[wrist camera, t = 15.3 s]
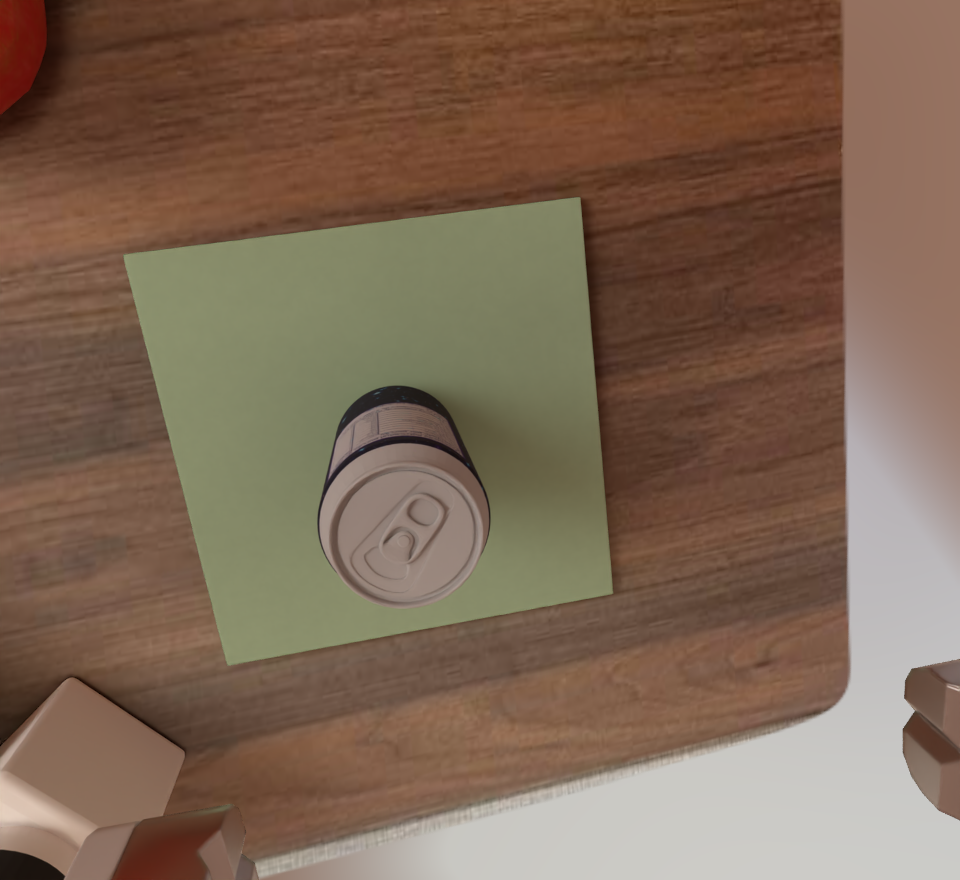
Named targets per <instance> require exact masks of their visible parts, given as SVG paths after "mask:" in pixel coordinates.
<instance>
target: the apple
mask: <svg viewBox="0 0 960 880" xmlns="http://www.w3.org/2000/svg"><path fill="white" fill-rule="evenodd" d="M46 40H47V24H46V14H45V3H44V0H0V115H1V114H2V113H3V112H4V111H6V110H7V109H8V108H9V107H10V106H11V105H13V104H14V103H15V102H16V101H17V100H18V99H20V98H21V97H22V96H23V95H24V94H25V93H27V92H28V91H29V90H30V88H31V86H32V84H33V81H34V79H35V77H36V75H37V72H38V70H39V68H40V66H41V62H42V59H43V56H44V53H45V49H46Z"/></svg>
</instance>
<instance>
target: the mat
mask: <svg viewBox="0 0 960 880" xmlns="http://www.w3.org/2000/svg"><path fill="white" fill-rule="evenodd" d="M123 257H124V261H125V265H126V269H127V273H128V277H129V281H130V285H131V289H132V293H133V297H134V301H135V305H136V309H137V313H138V316H139V320H140V324H141V328H142V332H143V336H144V340H145V344H146V348H147V352H148V356H149V360H150V364H151V368H152V372H153V375H154V379H155V383H156V387H157V391H158V395H159V399H160V403H161V407H162V411H163V415H164V419H165V423H166V427H167V431H168V434H169V438H170V442H171V446H172V450H173V454H174V458H175V462H176V466H177V470H178V474H179V478H180V482H181V486H182V490H183V493H184V497H185V501H186V505H187V509H188V513H189V517H190V521H191V525H192V529H193V533H194V537H195V541H196V545H197V549H198V552H199V556H200V560H201V564H202V568H203V572H204V576H205V580H206V584H207V588H208V592H209V596H210V600H211V604H212V608H213V611H214V615H215V619H216V623H217V627H218V631H219V635H220V639H221V643H222V647H223V651H224V655H225V659H226V663H227V665H228V666H229V665H235V664H240V663H245V662H251V661H256V660H261V659H267V658H272V657H277V656H283V655H288V654H293V653H299V652H304V651H310V650H315V649H320V648H326V647H331V646H336V645H342V644H347V643H352V642H358V641H363V640H369V639H374V638H379V637H385V636H390V635H395V634H401V633H406V632H411V631H417V630H422V629H427V628H433V627H438V626H444V625H449V624H454V623H460V622H465V621H470V620H476V619H481V618H486V617H492V616H497V615H502V614H508V613H513V612H519V611H524V610H529V609H535V608H540V607H545V606H551V605H556V604H561V603H567V602H572V601H578V600H583V599H588V598H594V597H599V596H604V595H610V594H613V584H612V572H611V560H610V548H609V536H608V524H607V512H606V500H605V488H604V476H603V463H602V451H601V439H600V427H599V415H598V403H597V391H596V379H595V367H594V355H593V343H592V331H591V319H590V307H589V295H588V283H587V271H586V259H585V247H584V235H583V223H582V210H581V198H580V197H575V198H567V199H559V200H551V201H543V202H535V203H527V204H519V205H511V206H503V207H495V208H487V209H479V210H471V211H464V212H456V213H448V214H440V215H432V216H424V217H416V218H408V219H400V220H392V221H384V222H376V223H368V224H360V225H352V226H345V227H337V228H329V229H321V230H313V231H305V232H297V233H289V234H281V235H273V236H265V237H257V238H249V239H241V240H233V241H226V242H218V243H210V244H202V245H194V246H186V247H178V248H170V249H162V250H154V251H146V252H138V253H130V254H124V255H123ZM386 386H409V387H413V388H417V389H420V390H422V391H424V392H426V393H428V394H430V395H432V396H433V397H434V398H436V399H437V400H438V401H439V402H440V403H441V404H442V405H443V406H444V407H445V408H446V409H447V411H448V412H449V413H450V415H451V417H452V419H453V421H454V423H455V425H456V427H457V429H458V432H459V434H460V436H461V438H462V440H463V442H464V445H465V447H466V449H467V451H468V453H469V456H470V458H471V460H472V462H473V464H474V466H475V469H476V471H477V473H478V475H479V477H480V479H481V482H482V484H483V486H484V488H485V491H486V493H487V497H488V500H489V505H490V514H491V523H490V531H489V536H488V540H487V543H486V546H485V548H484V551H483V553H482V555H481V556H480V559H479V561H478V563H477V565H476V567H475V569H474V570H473V572H472V573H471V575H470V576H469V578H468V579H467V580H466V581H465V582H464V583H463V584H462V586H460V587H459V588H458V589H457V590H456V591H454V592H453V593H452V594H450V595H449V596H447V597H445V598H444V599H442V600H440V601H437V602H435V603H433V604H430V605H426V606H422V607H418V608H409V609H398V608H390V607H384V606H381V605H378V604H375V603H372V602H370V601H368V600H366V599H364V598H362V597H360V596H359V595H358V594H356V593H355V592H353V591H352V590H351V589H350V588H349V587H348V586H347V585H346V584H345V583H344V582H343V581H342V579H341V578H340V577H339V575H338V574H337V573H336V572H335V571H334V569H333V568H332V567H331V565H330V564H329V562H328V560H327V559H326V557H325V555H324V553H323V550H322V547H321V544H320V541H319V536H318V528H317V517H318V509H319V504H320V500H321V496H322V492H323V487H324V483H325V479H326V475H327V470H328V466H329V462H330V458H331V453H332V449H333V445H334V441H335V436H336V432H337V428H338V425H339V423H340V421H341V419H342V417H343V415H344V414H345V412H346V411H347V409H348V408H349V407H350V406H351V405H352V404H353V403H354V402H355V401H356V400H357V399H359V398H360V397H361V396H363V395H364V394H366V393H368V392H370V391H372V390H375V389H378V388H381V387H386Z"/></svg>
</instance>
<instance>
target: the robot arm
mask: <svg viewBox="0 0 960 880" xmlns="http://www.w3.org/2000/svg"><path fill="white" fill-rule="evenodd" d="M904 698H905V699H906V701H907V702H908V703H909V704H910V705H911V707H912V708H913V709H914V710H915V712H914V713H913V715H912V716H911V718H910V719H909V721H908V722H907V724H906V725H905V727H904V728H903V754H904V757H905V760H906V763H907V765H908V768H909V771H910V774H911V776H912V778H913V779H914V781H915V782H916V784H917V785H918V787H919V789H920V790H921V791H922V793H923V794H924V795H925V796H926V797H927V799H928V800H929V801H930V802H931V803H932V804H933V805H934V806H935V807H936V808H937V809H938V810H939V811H941V812H943V813H945V814H947V815H950V816H952V817H954V818H956V819H958V820H960V659H957V660H952V661H948V662H943V663H938V664H934V665H928V666H923V667H918V668H914V669H911V671H910V673H909V675H908V676H907V678H906V680H905V695H904ZM245 834H246V830H245V826H244V823H243V820H242V817H241V814H240V811H239V808H238V807H236V806H234V805H233V804H228V805H223V806H217V807H211V808H205V809H200V810H194V811H188V812H182V813H177V814H171V815H165V816H159V817H154V818H148V819H143V820H142V821H135V822H130V823H124V824H118V825H113V826H107V827H102V828H97V829H96V830H95V831H93V832H92V833H91V834H90V835H88V836H87V837H86V839H85V840H84V842H83V843H82V845H81V847H80V849H79V851H78V853H77V855H76V857H75V859H74V861H73V863H72V865H71V867H70V869H69V871H68V872H67V874H66V876H65V878H64V880H259V878H258V874H257V870H256V866H255V863H254V862H253V861H251V860H250V859H248V858H247V857H246V856H244V855H243V854H241V851H242V847H243V843H244V838H245Z"/></svg>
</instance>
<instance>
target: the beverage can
mask: <svg viewBox="0 0 960 880" xmlns="http://www.w3.org/2000/svg"><path fill="white" fill-rule="evenodd" d="M490 523H491V514H490V505H489V500H488V497H487V493H486V491H485V488H484V486H483V484H482V482H481V479H480V477H479V475H478V473H477V471H476V469H475V466H474V464H473V462H472V460H471V458H470V456H469V453H468V451H467V449H466V447H465V445H464V442H463V440H462V438H461V436H460V434H459V432H458V429H457V427H456V425H455V423H454V421H453V419H452V417H451V415H450V413H449V412H448V411H447V409H446V408H445V407H444V406H443V405H442V404H441V403H440V402H439V401H438V400H437V399H436V398H434V397H433V396H432V395H430V394H428V393H426V392H424V391H422V390H420V389H417V388H413V387H409V386H386V387H381V388H378V389H375V390H372V391H370V392H368V393H366V394H364V395H363V396H361V397H360V398H359V399H357V400H356V401H355V402H354V403H353V404H352V405H351V406H350V407H349V408H348V409H347V411H346V412H345V414H344V415H343V417H342V419H341V421H340V423H339V425H338V428H337V432H336V436H335V441H334V445H333V449H332V453H331V458H330V462H329V466H328V470H327V475H326V479H325V483H324V487H323V492H322V496H321V500H320V504H319V509H318V517H317V528H318V536H319V541H320V544H321V547H322V550H323V553H324V555H325V557H326V559H327V560H328V562H329V564H330V565H331V567H332V568H333V569H334V571H335V572H336V573H337V574H338V575H339V577H340V578H341V579H342V581H343V582H344V583H345V584H346V585H347V586H348V587H349V588H350V589H351V590H352V591H353V592H355V593H356V594H358V595H359V596H360V597H362V598H364V599H366V600H368V601H370V602H372V603H375V604H378V605H381V606H384V607H390V608H398V609H409V608H418V607H422V606H426V605H430V604H433V603H435V602H437V601H440V600H442V599H444V598H445V597H447V596H449V595H450V594H452V593H453V592H454V591H456V590H457V589H458V588H459V587H460V586H462V584H463V583H464V582H465V581H466V580H467V579H468V578H469V576H470V575H471V573H472V572H473V570H474V569H475V567H476V565H477V563H478V561H479V559H480V556H481V555H482V553H483V551H484V548H485V546H486V543H487V540H488V536H489V531H490Z"/></svg>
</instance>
